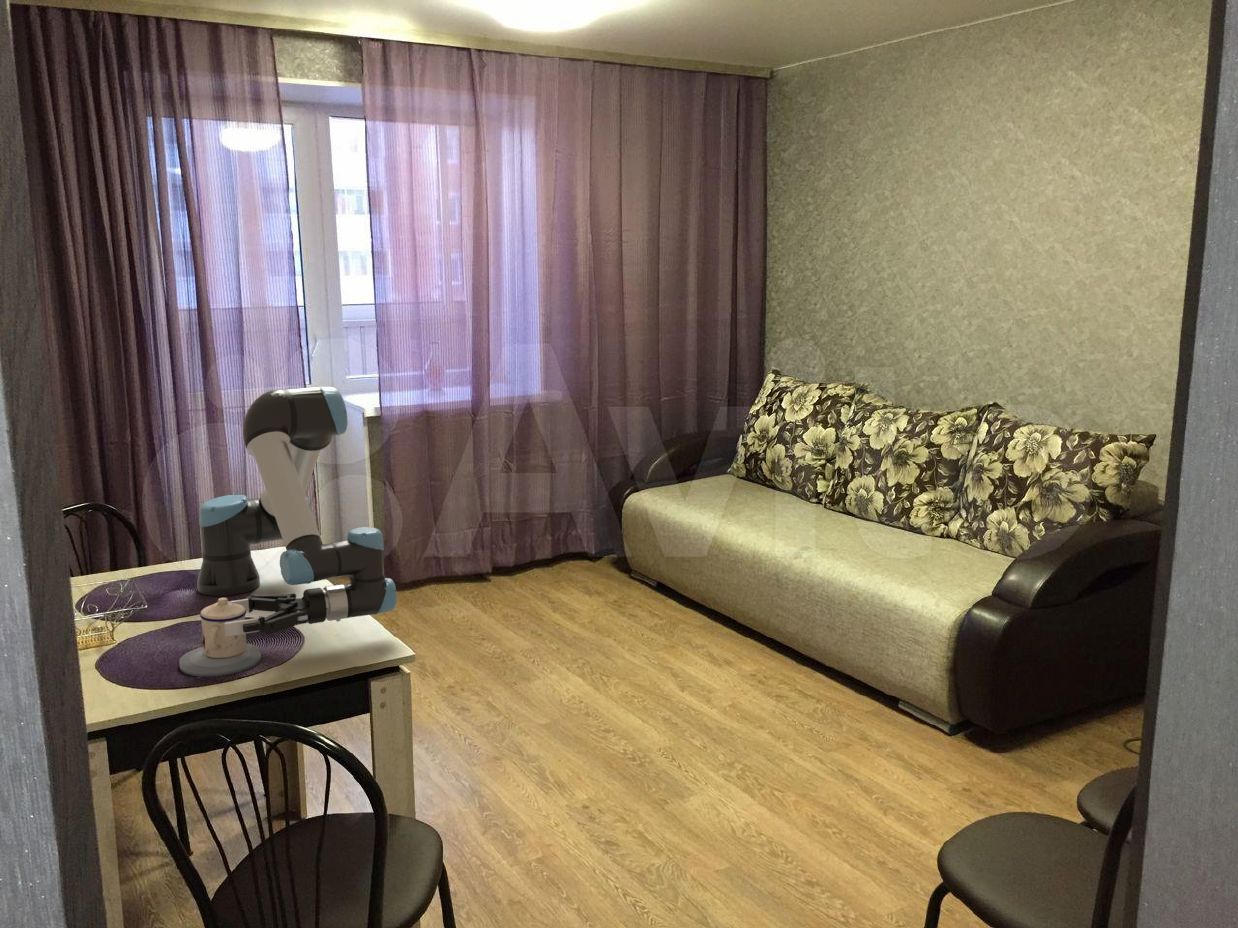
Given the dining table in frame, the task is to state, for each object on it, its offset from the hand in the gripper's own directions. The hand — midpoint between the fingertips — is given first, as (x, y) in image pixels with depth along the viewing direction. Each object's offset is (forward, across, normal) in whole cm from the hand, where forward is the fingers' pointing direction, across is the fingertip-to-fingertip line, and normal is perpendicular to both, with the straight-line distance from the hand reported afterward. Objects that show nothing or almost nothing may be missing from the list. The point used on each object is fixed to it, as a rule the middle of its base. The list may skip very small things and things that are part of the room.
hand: (220, 619), depth 214 cm
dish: (0, 0, -9) cm, 9 cm away
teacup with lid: (0, +1, -8) cm, 8 cm away
